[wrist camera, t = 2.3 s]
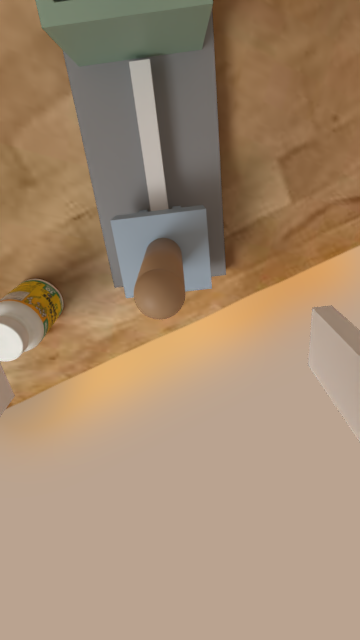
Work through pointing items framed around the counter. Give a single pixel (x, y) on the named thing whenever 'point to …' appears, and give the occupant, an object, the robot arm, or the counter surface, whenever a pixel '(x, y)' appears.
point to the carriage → (162, 257)
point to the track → (176, 136)
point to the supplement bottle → (27, 316)
